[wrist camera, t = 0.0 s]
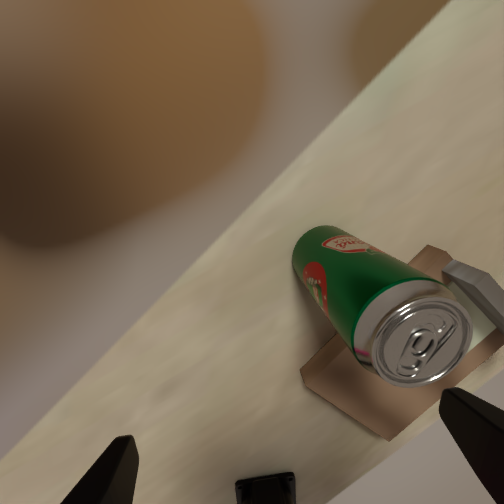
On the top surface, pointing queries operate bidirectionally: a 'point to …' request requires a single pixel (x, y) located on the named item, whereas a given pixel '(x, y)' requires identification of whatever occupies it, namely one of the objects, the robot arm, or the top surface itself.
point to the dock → (418, 398)
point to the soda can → (384, 308)
